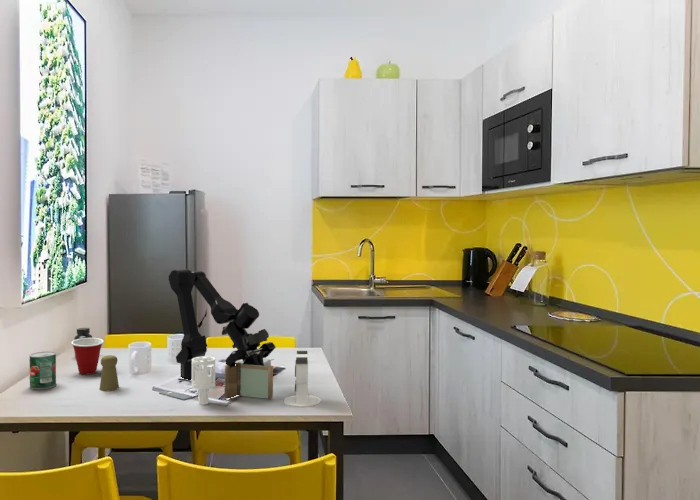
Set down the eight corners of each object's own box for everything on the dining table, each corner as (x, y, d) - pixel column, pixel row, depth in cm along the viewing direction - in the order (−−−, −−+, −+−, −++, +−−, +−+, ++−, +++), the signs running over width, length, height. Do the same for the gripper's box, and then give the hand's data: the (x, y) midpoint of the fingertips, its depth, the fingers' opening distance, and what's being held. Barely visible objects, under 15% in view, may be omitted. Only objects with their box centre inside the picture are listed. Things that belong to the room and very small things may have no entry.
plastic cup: (76, 378, 202) (76, 344, 201) (67, 372, 210) (67, 339, 209) (108, 373, 209) (107, 341, 208) (98, 367, 217) (98, 336, 216)
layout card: (159, 393, 185) (159, 392, 185) (181, 387, 192) (181, 385, 192) (183, 400, 178) (183, 398, 178) (205, 393, 186) (205, 392, 186)
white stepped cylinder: (193, 407, 171) (193, 358, 170) (190, 401, 177) (190, 353, 177) (217, 405, 174) (217, 356, 173) (212, 398, 180) (213, 352, 180)
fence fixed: (223, 399, 179) (223, 366, 179) (238, 394, 185) (238, 361, 184) (227, 400, 178) (227, 366, 178) (242, 395, 184) (242, 362, 183)
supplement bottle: (87, 354, 237) (87, 326, 237) (96, 357, 233) (96, 328, 233) (71, 357, 232) (70, 328, 231) (80, 360, 228) (79, 330, 227)
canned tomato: (24, 387, 189) (23, 355, 189) (44, 381, 197) (43, 350, 196) (42, 390, 187) (41, 357, 186) (61, 384, 194) (61, 352, 193)
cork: (114, 384, 194) (114, 352, 194) (121, 388, 190) (121, 356, 190) (96, 388, 190) (96, 355, 190) (103, 392, 186) (103, 358, 185)
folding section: (242, 394, 184) (242, 363, 184) (273, 397, 181) (273, 366, 181) (240, 395, 182) (240, 365, 182) (271, 398, 180) (271, 367, 179)
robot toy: (225, 375, 212) (260, 376, 207) (224, 363, 212) (259, 364, 206) (242, 367, 223) (276, 368, 218) (241, 356, 223) (275, 357, 218)
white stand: (284, 395, 185) (285, 349, 184) (319, 395, 186) (320, 349, 185) (283, 407, 173) (283, 358, 172) (320, 406, 174) (320, 358, 173)
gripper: (232, 326, 178) (258, 366, 172) (271, 318, 194) (296, 355, 188) (214, 347, 183) (238, 387, 177) (254, 338, 198) (278, 374, 193)
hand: (264, 375), depth 184 cm, fingers closed
